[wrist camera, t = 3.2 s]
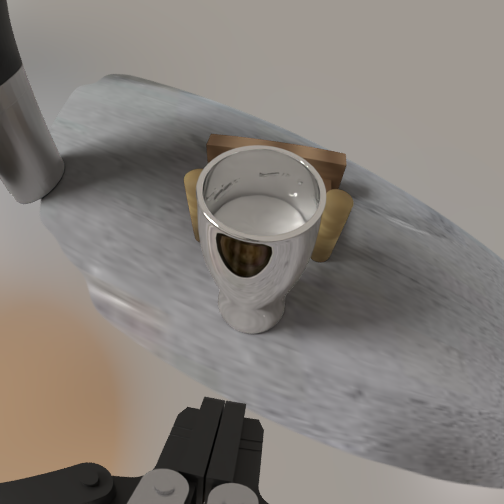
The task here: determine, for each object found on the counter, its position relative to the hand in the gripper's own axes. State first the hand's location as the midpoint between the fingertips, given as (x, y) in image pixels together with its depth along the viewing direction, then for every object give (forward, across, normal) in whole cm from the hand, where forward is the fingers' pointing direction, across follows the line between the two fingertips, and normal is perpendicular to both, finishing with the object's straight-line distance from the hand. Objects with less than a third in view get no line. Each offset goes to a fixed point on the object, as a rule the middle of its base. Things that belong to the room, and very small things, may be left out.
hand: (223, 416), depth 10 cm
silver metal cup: (+18, 0, +3) cm, 18 cm away
